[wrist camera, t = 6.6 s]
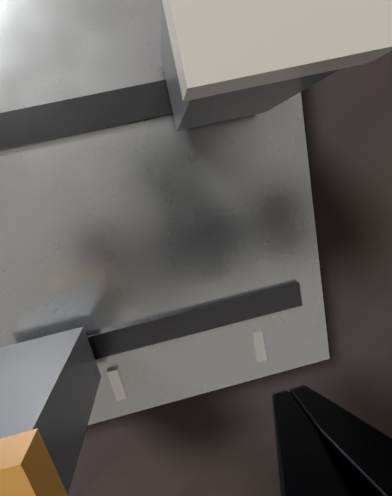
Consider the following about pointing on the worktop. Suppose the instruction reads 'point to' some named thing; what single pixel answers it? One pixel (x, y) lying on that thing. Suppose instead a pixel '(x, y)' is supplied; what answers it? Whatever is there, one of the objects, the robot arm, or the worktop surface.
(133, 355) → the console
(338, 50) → the cream fader
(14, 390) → the orange fader
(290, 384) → the worktop surface
